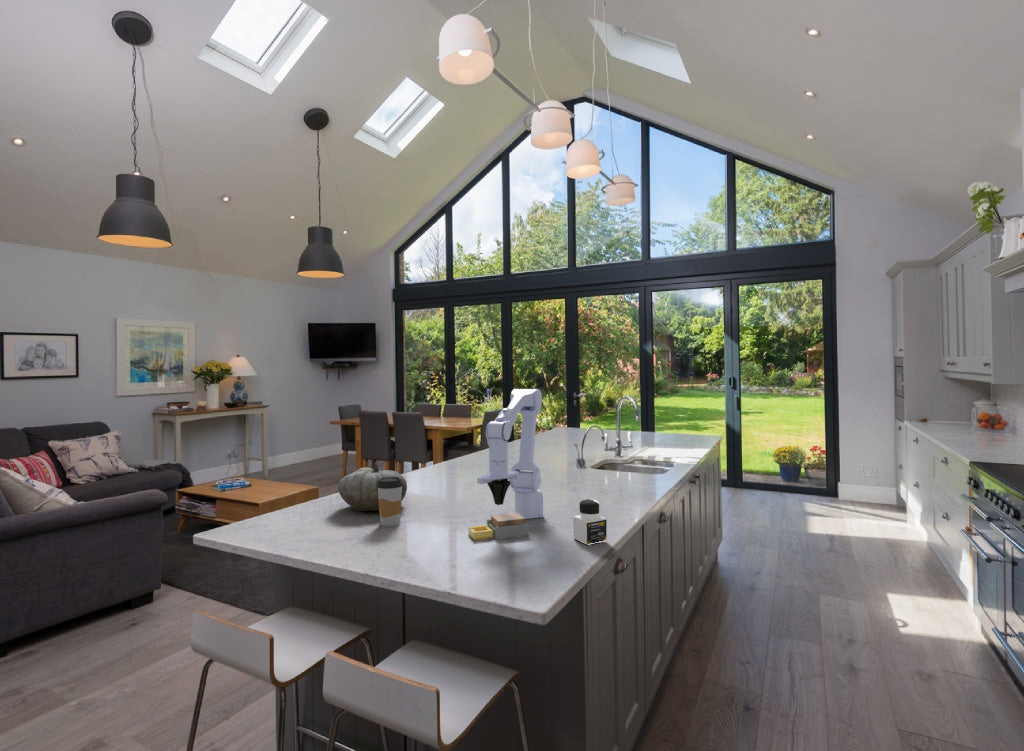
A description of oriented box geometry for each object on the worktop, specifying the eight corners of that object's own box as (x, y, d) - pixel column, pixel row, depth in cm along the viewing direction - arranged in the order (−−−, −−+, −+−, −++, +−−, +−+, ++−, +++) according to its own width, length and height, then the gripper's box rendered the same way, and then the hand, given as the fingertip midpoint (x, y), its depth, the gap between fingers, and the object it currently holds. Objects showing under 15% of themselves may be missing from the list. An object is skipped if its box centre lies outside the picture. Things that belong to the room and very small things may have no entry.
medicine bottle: (587, 546, 158) (586, 504, 158) (573, 539, 165) (572, 499, 165) (607, 542, 162) (606, 501, 161) (592, 535, 168) (592, 496, 168)
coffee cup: (408, 522, 185) (407, 477, 184) (392, 529, 177) (392, 482, 177) (388, 519, 188) (387, 475, 188) (372, 526, 181) (371, 480, 180)
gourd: (339, 513, 186) (343, 461, 189) (332, 508, 209) (336, 462, 212) (412, 513, 196) (415, 463, 199) (398, 508, 218) (401, 464, 221)
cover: (517, 520, 176) (517, 512, 176) (525, 526, 170) (525, 518, 170) (491, 523, 173) (491, 515, 173) (498, 529, 166) (498, 521, 166)
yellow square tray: (487, 532, 172) (487, 525, 172) (493, 538, 166) (493, 530, 166) (468, 534, 170) (468, 527, 170) (474, 540, 164) (473, 532, 164)
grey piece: (518, 527, 177) (518, 516, 177) (528, 535, 169) (528, 523, 169) (487, 531, 174) (487, 519, 174) (496, 539, 165) (496, 527, 165)
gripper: (509, 456, 177) (510, 498, 178) (471, 461, 169) (472, 505, 169) (523, 459, 172) (523, 502, 172) (484, 464, 163) (485, 509, 163)
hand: (498, 504), depth 170 cm, fingers closed
